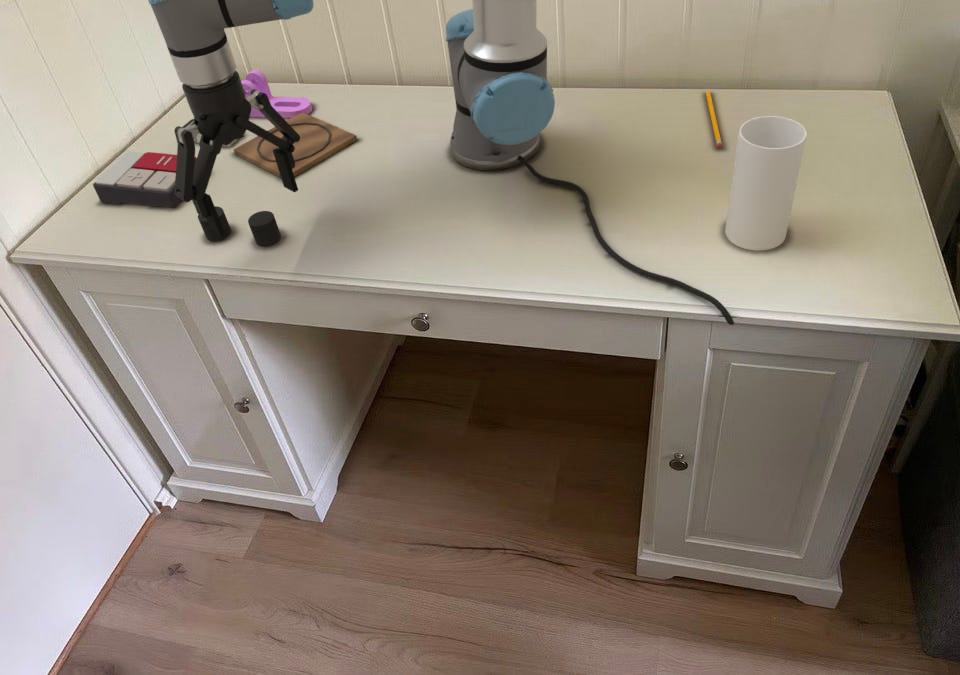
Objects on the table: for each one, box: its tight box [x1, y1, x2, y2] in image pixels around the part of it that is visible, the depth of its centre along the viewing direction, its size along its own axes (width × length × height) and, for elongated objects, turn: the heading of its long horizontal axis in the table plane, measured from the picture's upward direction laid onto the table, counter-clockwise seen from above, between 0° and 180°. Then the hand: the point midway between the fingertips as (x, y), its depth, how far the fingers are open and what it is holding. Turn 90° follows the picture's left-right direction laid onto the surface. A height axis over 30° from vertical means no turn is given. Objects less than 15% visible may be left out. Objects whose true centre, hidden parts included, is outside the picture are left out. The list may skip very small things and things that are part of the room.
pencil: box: [705, 90, 723, 150], centre depth 134 cm, size 1×18×1 cm, turn 174°
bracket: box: [241, 69, 313, 119], centre depth 151 cm, size 13×6×7 cm, turn 76°
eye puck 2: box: [247, 210, 282, 248], centre depth 121 cm, size 4×4×4 cm
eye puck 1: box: [197, 205, 232, 243], centre depth 124 cm, size 4×4×4 cm
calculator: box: [92, 150, 197, 209], centre depth 136 cm, size 11×4×15 cm
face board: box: [233, 112, 358, 179], centre depth 142 cm, size 16×16×1 cm
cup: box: [724, 115, 808, 252], centre depth 106 cm, size 8×8×16 cm
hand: (255, 209), depth 119 cm, fingers open, 13 cm apart
